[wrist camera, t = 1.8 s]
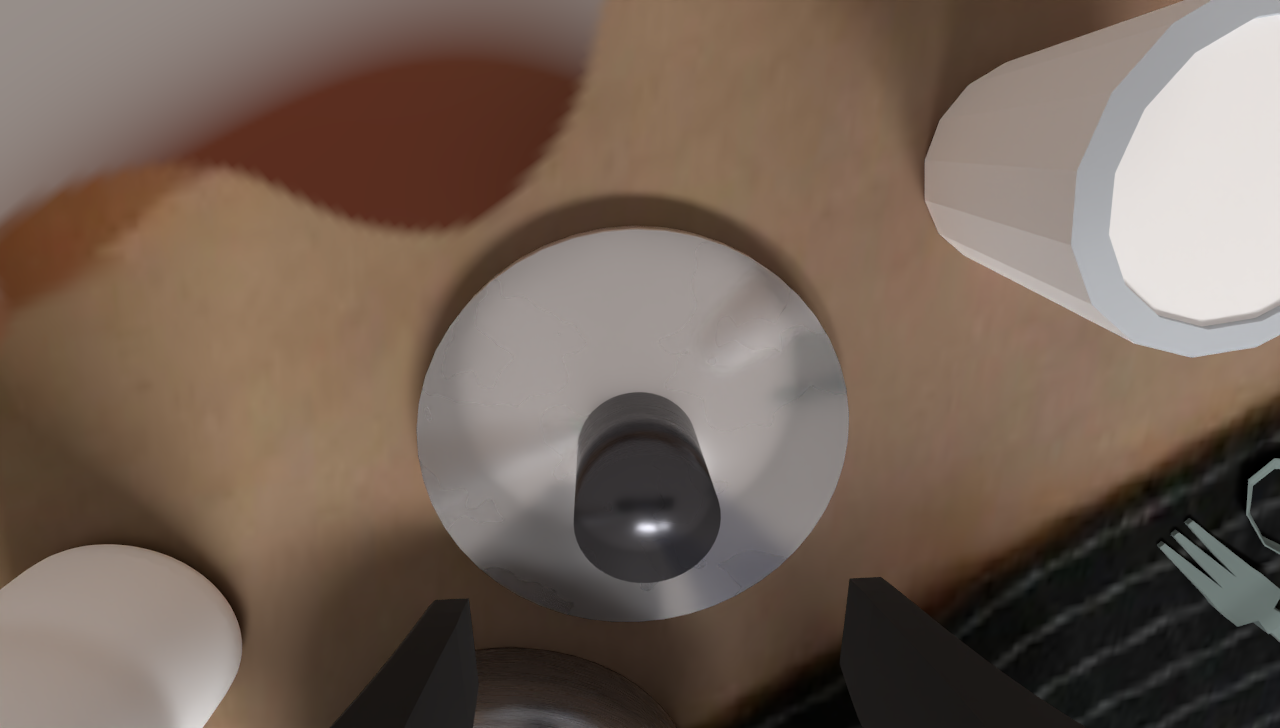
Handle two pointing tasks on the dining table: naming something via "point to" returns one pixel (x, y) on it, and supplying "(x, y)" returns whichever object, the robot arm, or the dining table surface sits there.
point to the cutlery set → (1232, 573)
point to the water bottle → (114, 642)
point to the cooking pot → (558, 693)
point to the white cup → (1129, 175)
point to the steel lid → (632, 424)
